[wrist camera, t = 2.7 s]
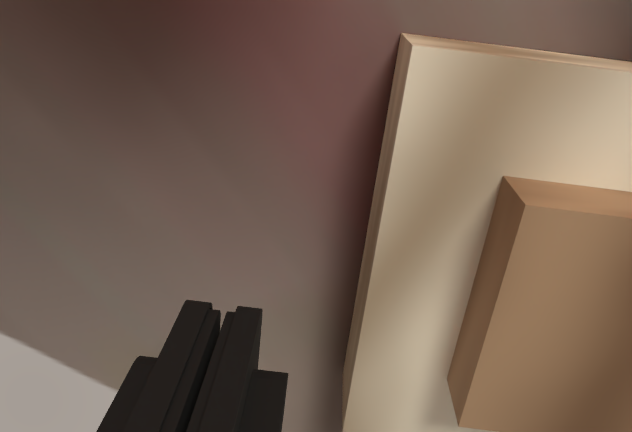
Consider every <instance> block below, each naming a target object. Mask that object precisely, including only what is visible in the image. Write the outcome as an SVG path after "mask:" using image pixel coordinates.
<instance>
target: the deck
mask: <svg viewBox="0 0 632 432" xmlns="http://www.w3.org/2000/svg"><path fill="white" fill-rule="evenodd" d="M503 176H510V177H518V178H526V179H533V180H541V181H549V182H557V183H565V184H573V185H581V186H589V187H597V188H604V189H612V190H620V191H628V192H632V62H629V61H621V60H613V59H605V58H597V57H589V56H581V55H573V54H565V53H557V52H549V51H541V50H533V49H525V48H517V47H509V46H501V45H493V44H485V43H477V42H469V41H461V40H453V39H445V38H437V37H429V36H421V35H413V34H405V33H401V37H400V42H399V48H398V54H397V60H396V66H395V72H394V77H393V83H392V89H391V95H390V101H389V107H388V112H387V118H386V124H385V130H384V136H383V142H382V148H381V153H380V159H379V165H378V171H377V177H376V183H375V188H374V194H373V200H372V206H371V212H370V218H369V223H368V229H367V235H366V241H365V247H364V253H363V259H362V264H361V270H360V276H359V282H358V288H357V294H356V299H355V305H354V311H353V317H352V323H351V329H350V334H349V340H348V346H347V352H346V358H345V364H344V370H343V406H342V432H495V431H488V430H480V429H472V428H465V427H458V423H457V419H456V415H455V411H454V407H453V403H452V399H451V394H450V390H449V386H448V382H447V376H448V372H449V369H450V365H451V361H452V358H453V354H454V351H455V347H456V343H457V340H458V336H459V332H460V329H461V325H462V322H463V318H464V314H465V311H466V307H467V304H468V300H469V296H470V293H471V289H472V286H473V282H474V278H475V275H476V271H477V268H478V264H479V260H480V257H481V253H482V250H483V246H484V242H485V239H486V235H487V232H488V228H489V224H490V221H491V217H492V213H493V210H494V206H495V203H496V199H497V195H498V192H499V188H500V185H501V181H502V177H503Z"/></svg>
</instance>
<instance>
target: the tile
mask: <svg viewBox="0 0 632 432" xmlns="http://www.w3.org/2000/svg"><path fill="white" fill-rule="evenodd" d="M447 382H448V386H449V390H450V394H451V399H452V403H453V407H454V411H455V415H456V419H457V423H458V427H465V428H472V429H480V430H488V431H495V432H632V192H628V191H620V190H612V189H604V188H597V187H589V186H581V185H573V184H565V183H557V182H549V181H541V180H533V179H526V178H518V177H510V176H503V177H502V181H501V185H500V188H499V192H498V195H497V199H496V203H495V206H494V210H493V213H492V217H491V221H490V224H489V228H488V232H487V235H486V239H485V242H484V246H483V250H482V253H481V257H480V260H479V264H478V268H477V271H476V275H475V278H474V282H473V286H472V289H471V293H470V296H469V300H468V304H467V307H466V311H465V314H464V318H463V322H462V325H461V329H460V332H459V336H458V340H457V343H456V347H455V351H454V354H453V358H452V361H451V365H450V369H449V372H448V376H447Z"/></svg>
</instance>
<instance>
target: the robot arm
mask: <svg viewBox="0 0 632 432" xmlns="http://www.w3.org/2000/svg"><path fill="white" fill-rule="evenodd" d="M220 317H221V313H220V310H212V303H209V302H200V301H192V300H186V301H185V303H184V305H183V307H182V309H181V311H180V313H179V315H178V317H177V319H176V321H175V323H174V325H173V327H172V330H171V332H170V334H169V336H168V338H167V340H166V342H165V344H164V346H163V348H162V350H161V352H160V355H159V357H158V358H154V357H145V356H139V357H137V358H136V360H135V361H134V363H133V365H132V366H131V368H130V370H129V372H128V374H127V376H126V378H125V380H124V381H123V383H122V385H121V387H120V389H119V391H118V393H117V394H116V396H115V398H114V400H113V402H112V404H111V406H110V408H109V409H108V411H107V413H106V415H105V417H104V419H103V421H102V422H101V424H100V426H99V428H98V430H97V432H281V430H282V422H283V414H284V406H285V397H286V389H287V380H288V373H282V372H273V371H265V370H258V359H259V347H260V336H261V324H262V309H259V308H251V307H243V306H238V307H237V309H236V312H227V313H226V316H225V319H224V322H223V325H222V327H221V330H220Z"/></svg>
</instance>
